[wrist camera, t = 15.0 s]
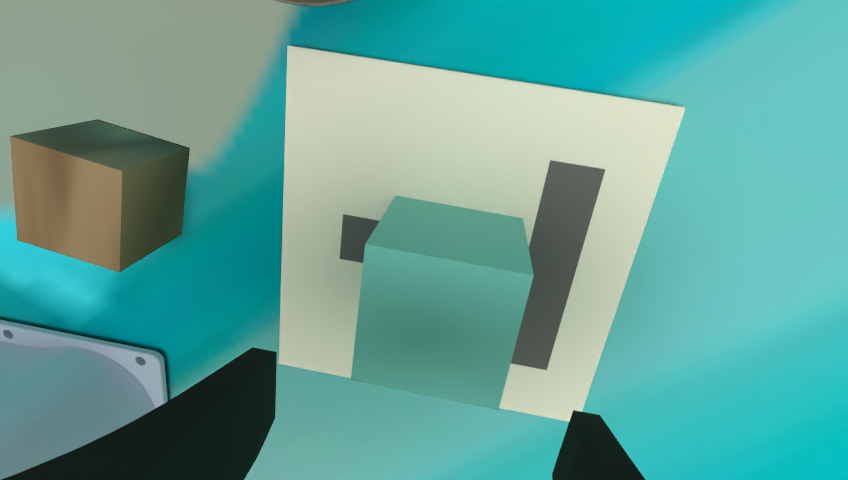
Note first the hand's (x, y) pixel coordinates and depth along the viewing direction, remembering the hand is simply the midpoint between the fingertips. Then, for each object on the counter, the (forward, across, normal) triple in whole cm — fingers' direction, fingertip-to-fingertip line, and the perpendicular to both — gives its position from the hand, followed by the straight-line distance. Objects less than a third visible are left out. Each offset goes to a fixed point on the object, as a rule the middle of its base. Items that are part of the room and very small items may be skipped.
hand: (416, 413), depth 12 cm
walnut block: (+8, +12, -1) cm, 14 cm away
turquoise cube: (+9, 0, 0) cm, 9 cm away
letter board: (+9, 0, 0) cm, 9 cm away
